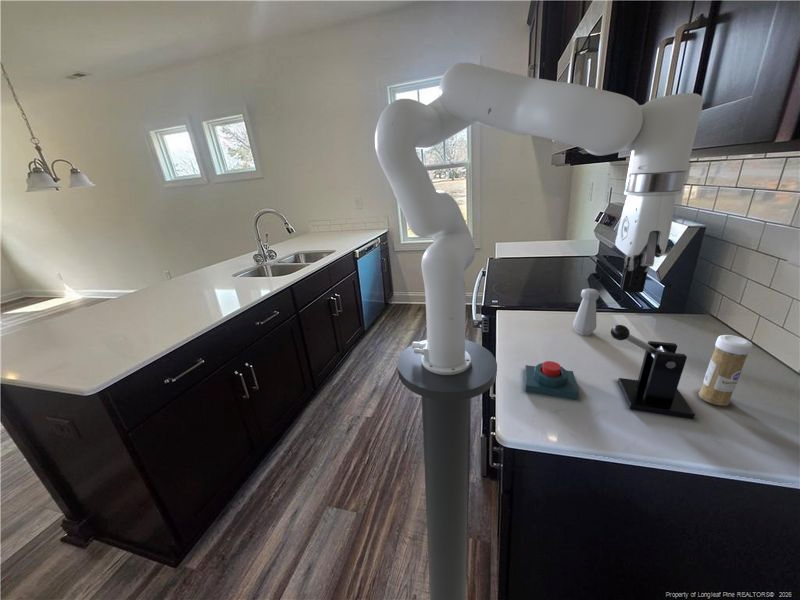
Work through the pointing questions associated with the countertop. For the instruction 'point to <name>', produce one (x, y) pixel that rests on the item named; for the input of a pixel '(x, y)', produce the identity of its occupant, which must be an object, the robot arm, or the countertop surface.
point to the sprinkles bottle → (724, 369)
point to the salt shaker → (586, 312)
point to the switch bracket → (658, 384)
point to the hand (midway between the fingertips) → (631, 290)
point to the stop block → (550, 382)
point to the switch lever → (634, 339)
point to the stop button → (551, 369)
